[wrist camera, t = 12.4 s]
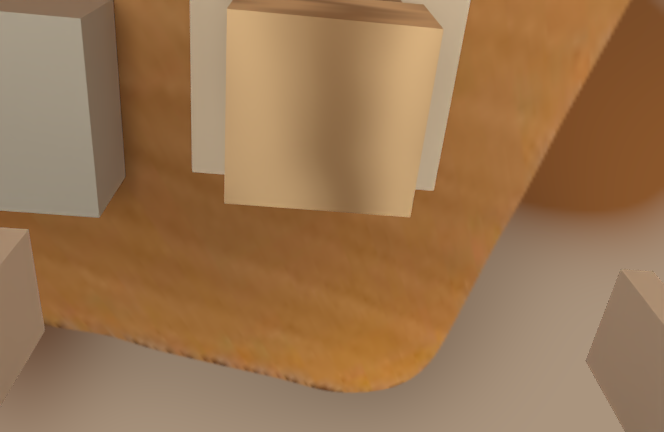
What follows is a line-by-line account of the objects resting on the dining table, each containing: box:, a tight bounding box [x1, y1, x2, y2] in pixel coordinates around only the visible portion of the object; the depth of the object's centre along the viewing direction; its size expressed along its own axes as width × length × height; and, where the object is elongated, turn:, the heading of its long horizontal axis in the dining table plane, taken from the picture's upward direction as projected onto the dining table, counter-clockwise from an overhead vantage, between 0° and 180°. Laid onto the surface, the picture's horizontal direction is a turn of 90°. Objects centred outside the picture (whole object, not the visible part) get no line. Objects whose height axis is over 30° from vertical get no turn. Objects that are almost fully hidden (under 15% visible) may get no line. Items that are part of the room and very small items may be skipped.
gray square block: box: [0, 0, 126, 218], centre depth 32 cm, size 10×10×5 cm
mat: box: [190, 0, 471, 191], centre depth 33 cm, size 14×14×1 cm
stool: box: [224, 0, 444, 217], centre depth 29 cm, size 8×8×9 cm
